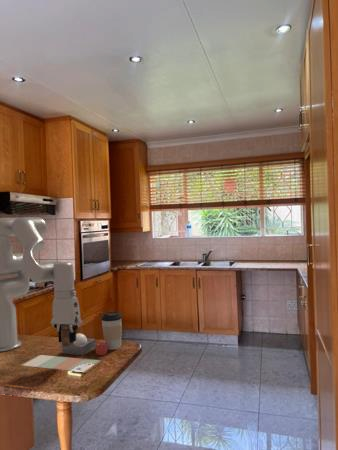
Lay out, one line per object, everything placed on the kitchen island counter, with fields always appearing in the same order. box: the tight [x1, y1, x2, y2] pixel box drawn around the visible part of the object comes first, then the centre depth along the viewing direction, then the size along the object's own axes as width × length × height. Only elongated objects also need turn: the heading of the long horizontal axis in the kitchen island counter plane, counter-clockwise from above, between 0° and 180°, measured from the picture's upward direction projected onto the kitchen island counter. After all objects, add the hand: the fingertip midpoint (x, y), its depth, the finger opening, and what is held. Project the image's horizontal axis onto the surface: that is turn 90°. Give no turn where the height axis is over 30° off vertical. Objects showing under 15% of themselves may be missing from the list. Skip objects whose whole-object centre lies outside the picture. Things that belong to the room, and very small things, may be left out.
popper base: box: [61, 338, 97, 356], centre depth 151 cm, size 10×10×4 cm
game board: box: [20, 354, 103, 374], centre depth 138 cm, size 30×11×1 cm, turn 70°
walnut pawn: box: [60, 324, 74, 347], centre depth 136 cm, size 4×4×9 cm
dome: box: [73, 332, 88, 346], centre depth 151 cm, size 7×7×7 cm
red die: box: [95, 341, 108, 356], centre depth 147 cm, size 4×4×4 cm
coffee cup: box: [100, 311, 123, 351], centre depth 155 cm, size 9×9×15 cm
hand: (67, 341), depth 136 cm, fingers closed on walnut pawn, 4 cm apart
